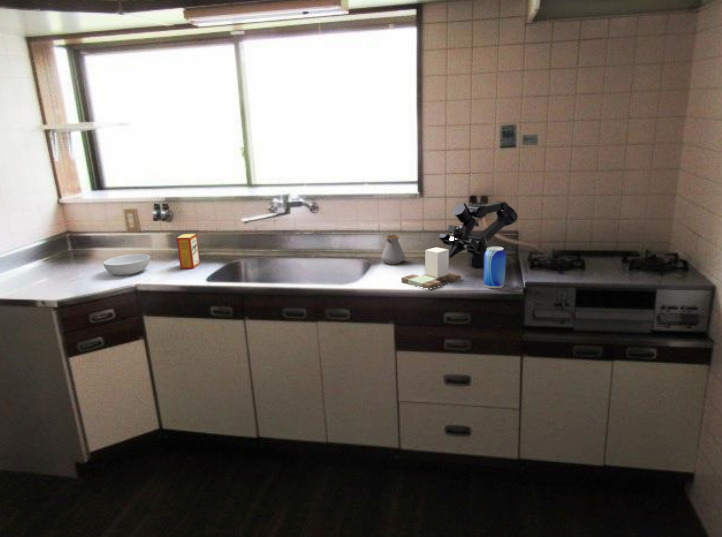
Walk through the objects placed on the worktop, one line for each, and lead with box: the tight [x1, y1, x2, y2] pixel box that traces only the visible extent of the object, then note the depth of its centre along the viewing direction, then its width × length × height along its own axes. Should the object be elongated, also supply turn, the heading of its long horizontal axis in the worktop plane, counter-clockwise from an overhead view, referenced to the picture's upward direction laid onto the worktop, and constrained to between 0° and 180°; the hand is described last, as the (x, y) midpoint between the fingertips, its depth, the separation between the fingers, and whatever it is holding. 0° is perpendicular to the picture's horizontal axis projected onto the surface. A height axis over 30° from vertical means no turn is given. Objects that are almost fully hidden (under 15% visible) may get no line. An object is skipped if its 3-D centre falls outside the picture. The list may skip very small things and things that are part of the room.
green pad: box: [407, 274, 437, 288], centre depth 224 cm, size 9×8×2 cm
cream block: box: [424, 246, 450, 278], centre depth 228 cm, size 7×7×11 cm
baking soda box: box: [176, 233, 201, 270], centre depth 264 cm, size 10×6×16 cm
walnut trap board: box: [400, 271, 462, 289], centre depth 227 cm, size 20×16×2 cm
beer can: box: [483, 246, 507, 289], centre depth 215 cm, size 8×8×16 cm
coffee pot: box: [381, 234, 406, 265], centre depth 253 cm, size 21×12×15 cm, turn 168°
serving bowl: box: [102, 253, 151, 276], centre depth 259 cm, size 21×21×7 cm
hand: (449, 257), depth 232 cm, fingers closed
